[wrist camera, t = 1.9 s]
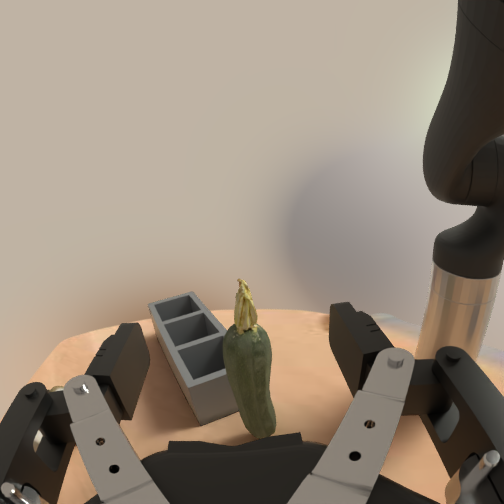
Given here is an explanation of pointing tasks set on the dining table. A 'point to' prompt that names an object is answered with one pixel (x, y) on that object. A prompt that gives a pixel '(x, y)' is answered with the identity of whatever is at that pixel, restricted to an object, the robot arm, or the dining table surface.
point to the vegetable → (249, 366)
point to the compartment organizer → (195, 354)
